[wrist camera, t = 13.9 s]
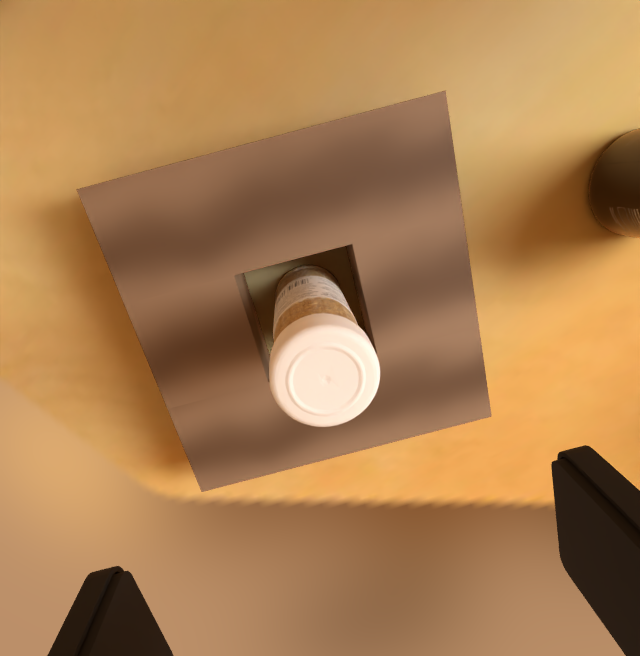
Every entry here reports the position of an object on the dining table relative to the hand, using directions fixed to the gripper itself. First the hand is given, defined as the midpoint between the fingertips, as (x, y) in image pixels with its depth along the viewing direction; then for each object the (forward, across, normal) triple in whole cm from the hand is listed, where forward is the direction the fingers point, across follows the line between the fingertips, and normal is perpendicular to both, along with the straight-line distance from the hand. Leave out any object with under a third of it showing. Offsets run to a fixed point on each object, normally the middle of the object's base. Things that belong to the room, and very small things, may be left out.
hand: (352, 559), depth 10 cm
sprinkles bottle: (+22, 0, 0) cm, 22 cm away
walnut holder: (+22, 0, 0) cm, 22 cm away
